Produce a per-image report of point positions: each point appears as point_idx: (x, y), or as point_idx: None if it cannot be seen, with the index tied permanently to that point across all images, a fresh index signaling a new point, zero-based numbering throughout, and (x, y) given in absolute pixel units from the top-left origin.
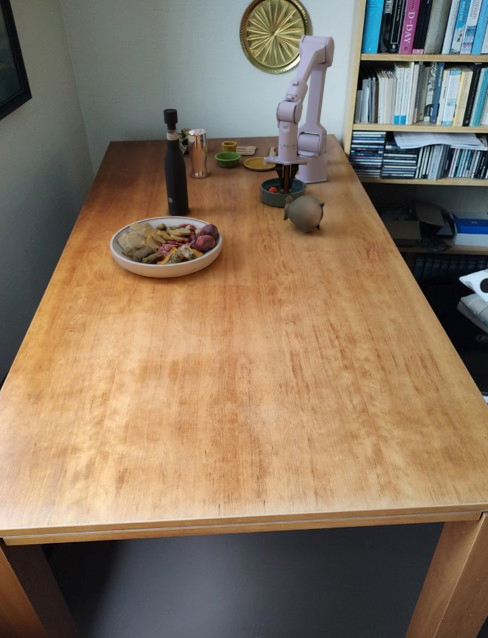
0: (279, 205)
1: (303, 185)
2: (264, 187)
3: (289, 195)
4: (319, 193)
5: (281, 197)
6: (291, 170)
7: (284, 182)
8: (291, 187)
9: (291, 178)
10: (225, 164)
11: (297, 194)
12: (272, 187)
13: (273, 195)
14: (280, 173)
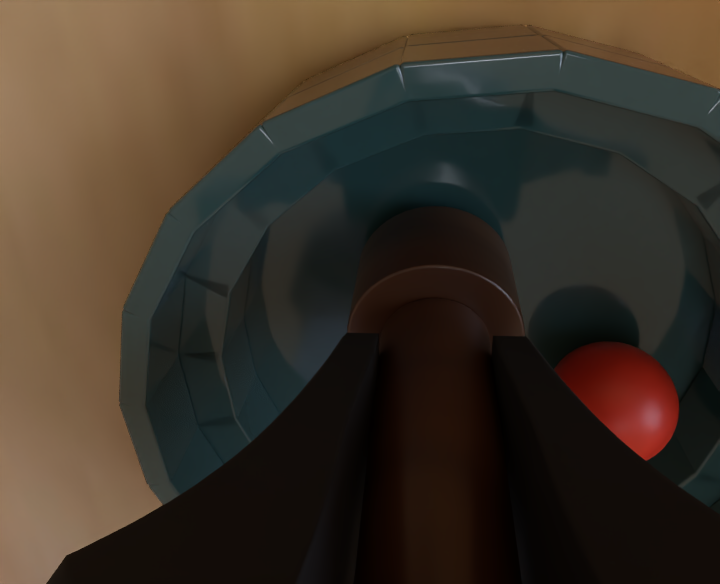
0: (536, 27)
1: (194, 481)
2: (717, 498)
3: (369, 72)
4: (86, 461)
5: (527, 45)
6: (273, 578)
7: (474, 403)
8: (340, 341)
9: (319, 434)
10: None
11: (227, 154)
12: (634, 446)
13: (697, 80)
14: (645, 526)
